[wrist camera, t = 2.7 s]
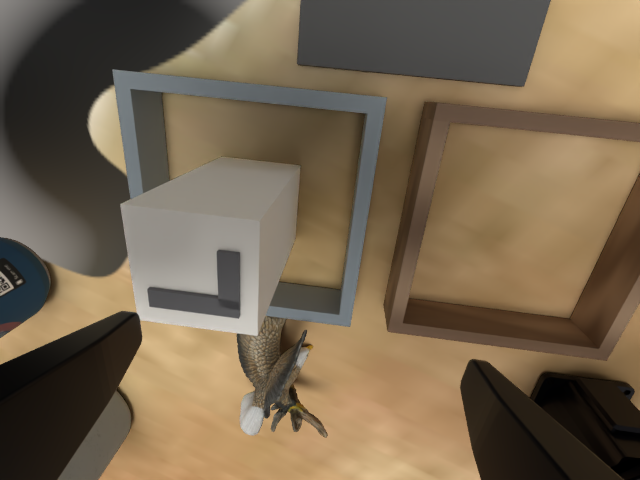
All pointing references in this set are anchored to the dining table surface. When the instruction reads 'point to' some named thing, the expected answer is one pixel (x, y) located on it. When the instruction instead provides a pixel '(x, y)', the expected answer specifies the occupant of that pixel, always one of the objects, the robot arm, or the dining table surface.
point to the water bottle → (100, 442)
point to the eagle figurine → (272, 378)
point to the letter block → (212, 244)
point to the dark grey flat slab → (424, 37)
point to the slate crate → (147, 109)
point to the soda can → (20, 284)
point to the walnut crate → (505, 326)
